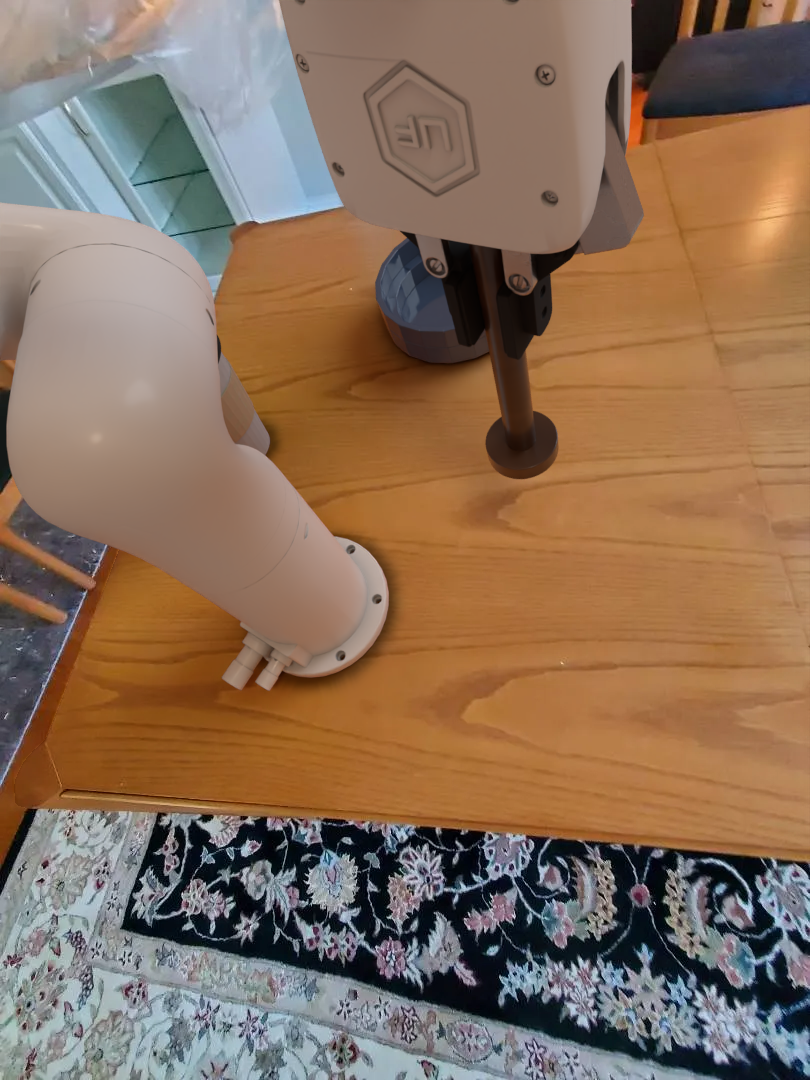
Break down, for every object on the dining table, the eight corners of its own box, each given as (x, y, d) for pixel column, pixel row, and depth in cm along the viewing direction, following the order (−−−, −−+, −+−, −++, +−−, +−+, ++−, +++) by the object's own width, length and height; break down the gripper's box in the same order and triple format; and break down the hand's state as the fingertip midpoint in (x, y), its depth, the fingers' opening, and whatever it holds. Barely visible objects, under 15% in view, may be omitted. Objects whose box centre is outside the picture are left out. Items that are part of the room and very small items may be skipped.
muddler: (540, 489, 38) (513, 276, 24) (475, 466, 40) (416, 256, 26) (570, 432, 39) (562, 197, 25) (506, 413, 41) (466, 184, 27)
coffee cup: (292, 408, 65) (220, 299, 52) (276, 486, 61) (193, 389, 48) (213, 415, 68) (125, 313, 55) (193, 490, 64) (92, 399, 51)
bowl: (485, 384, 60) (477, 348, 56) (362, 344, 67) (346, 309, 63) (558, 273, 64) (556, 232, 60) (435, 245, 71) (425, 206, 66)
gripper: (89, -133, 16) (333, 351, 32) (716, -226, 10) (634, 439, 26) (248, -270, 18) (404, 249, 34) (856, -423, 12) (700, 307, 28)
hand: (502, 328), depth 30 cm, fingers closed on muddler
